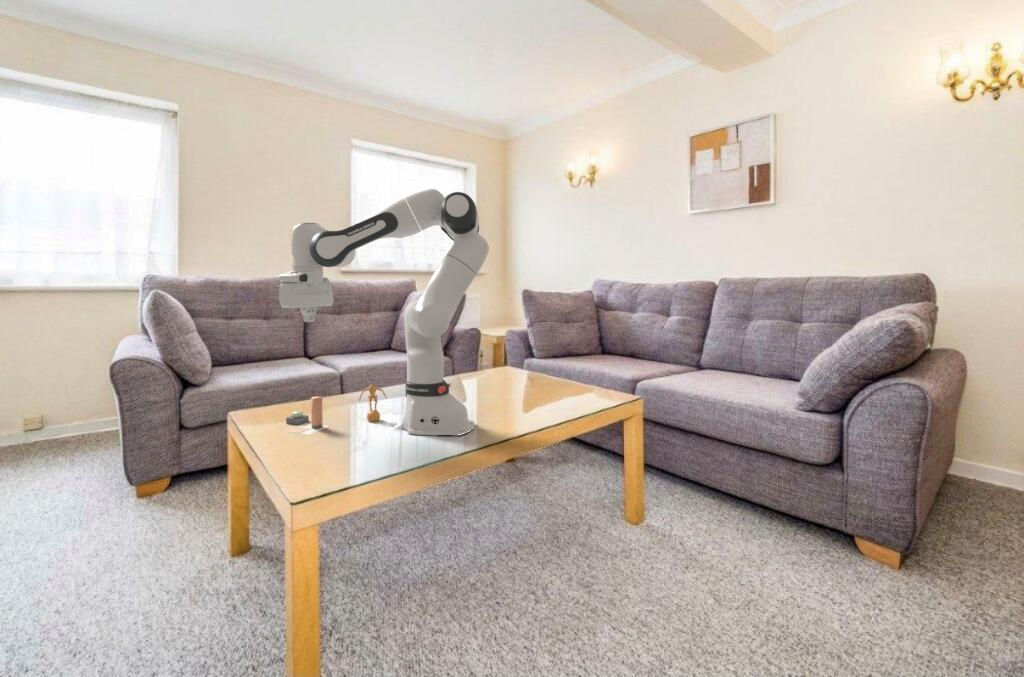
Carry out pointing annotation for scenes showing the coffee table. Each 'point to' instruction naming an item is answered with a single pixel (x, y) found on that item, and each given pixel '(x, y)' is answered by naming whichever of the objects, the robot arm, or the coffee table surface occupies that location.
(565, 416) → the coffee table surface
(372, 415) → the figurine
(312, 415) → the cylinder
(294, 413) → the button
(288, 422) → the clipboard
